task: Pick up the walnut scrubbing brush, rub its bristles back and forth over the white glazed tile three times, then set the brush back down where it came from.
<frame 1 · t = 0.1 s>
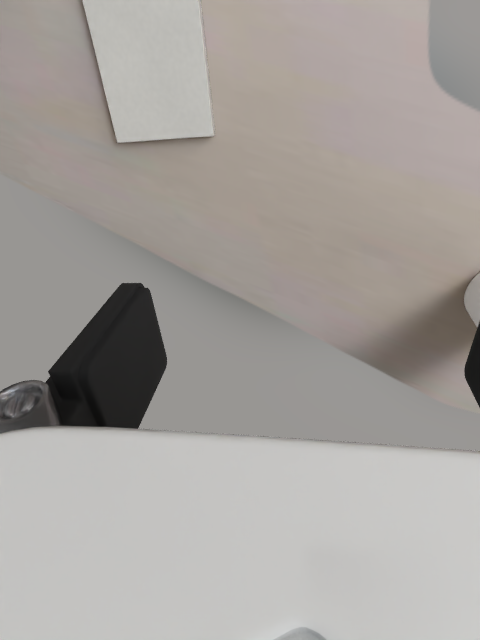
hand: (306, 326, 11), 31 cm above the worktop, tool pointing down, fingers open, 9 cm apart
tile: (152, 53, 34), on the worktop
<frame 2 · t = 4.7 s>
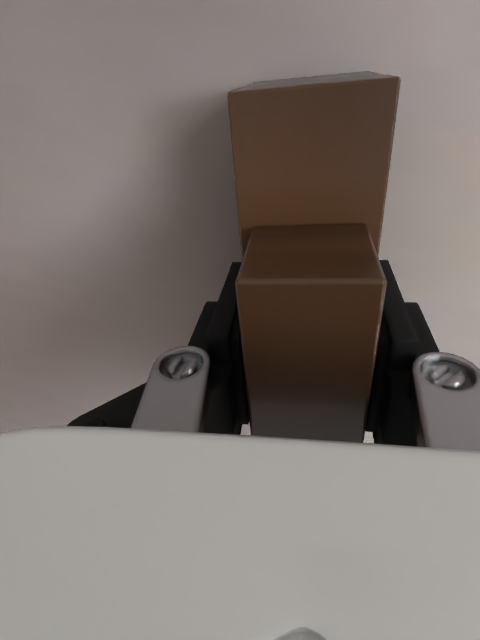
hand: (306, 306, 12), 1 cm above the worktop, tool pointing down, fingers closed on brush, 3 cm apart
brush: (306, 284, 13), on the worktop, touching gripper
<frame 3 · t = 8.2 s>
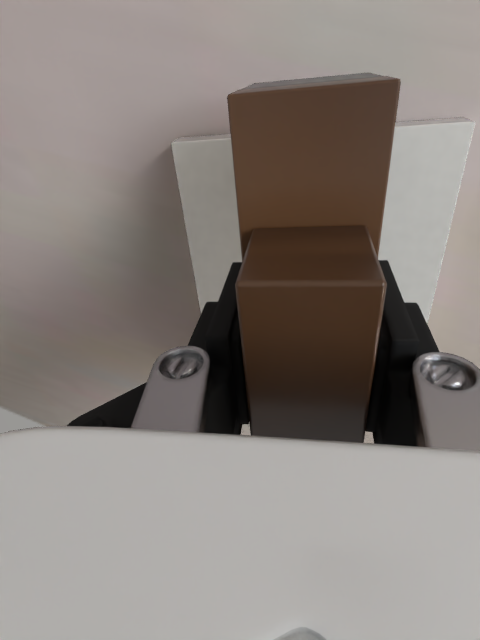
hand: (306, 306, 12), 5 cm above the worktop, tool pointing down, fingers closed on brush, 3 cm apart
tile: (309, 296, 17), on the worktop
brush: (306, 285, 13), point 4 cm above the worktop, touching gripper
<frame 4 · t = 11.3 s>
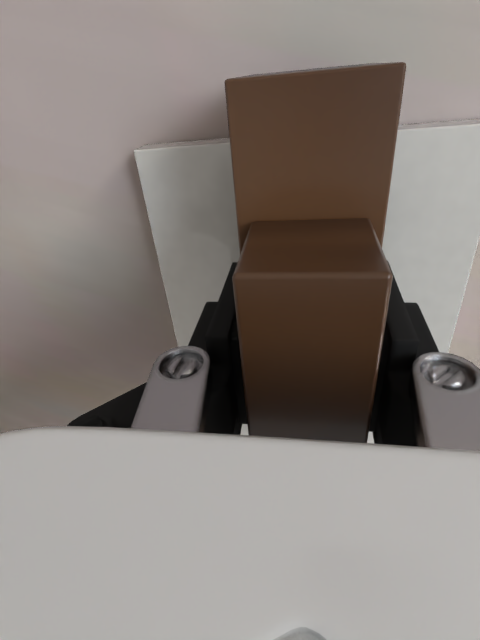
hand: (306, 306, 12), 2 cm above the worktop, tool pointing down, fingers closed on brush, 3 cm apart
tile: (305, 328, 15), on the worktop
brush: (306, 284, 13), point 1 cm above the worktop, touching gripper
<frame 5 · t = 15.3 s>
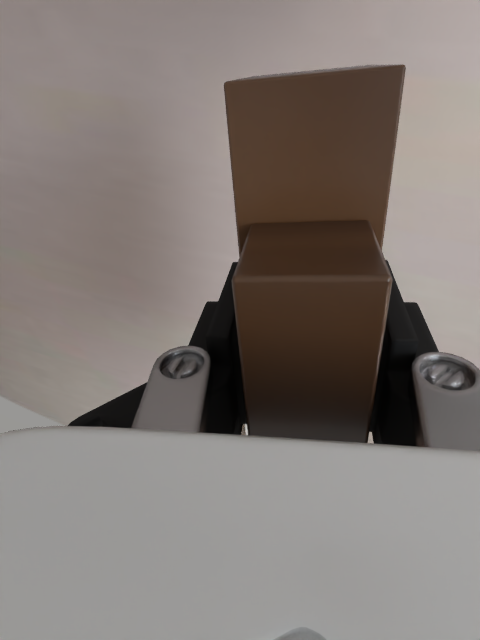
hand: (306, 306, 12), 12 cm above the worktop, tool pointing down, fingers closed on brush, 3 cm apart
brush: (306, 285, 13), point 11 cm above the worktop, touching gripper
when the fingers open (1 cm above the worktop, at t = 18.1 s): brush stays where it is, on the worktop.
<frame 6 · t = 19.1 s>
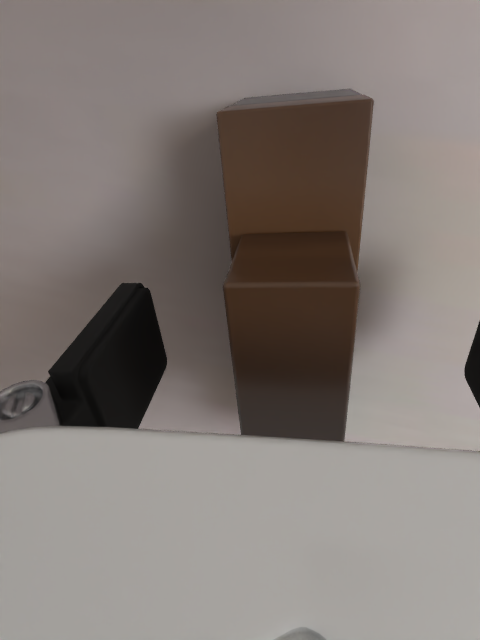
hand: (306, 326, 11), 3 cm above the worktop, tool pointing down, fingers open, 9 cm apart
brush: (296, 287, 14), on the worktop
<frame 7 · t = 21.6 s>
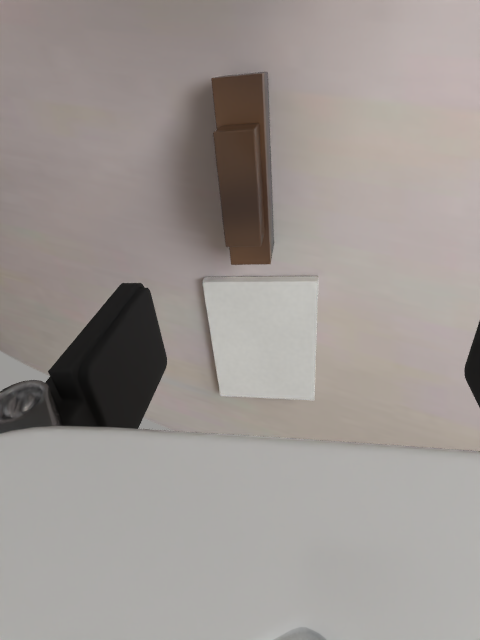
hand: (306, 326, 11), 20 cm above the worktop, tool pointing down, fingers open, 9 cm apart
tile: (263, 339, 37), on the worktop
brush: (251, 169, 28), on the worktop
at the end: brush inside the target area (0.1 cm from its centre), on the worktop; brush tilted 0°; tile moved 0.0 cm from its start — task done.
